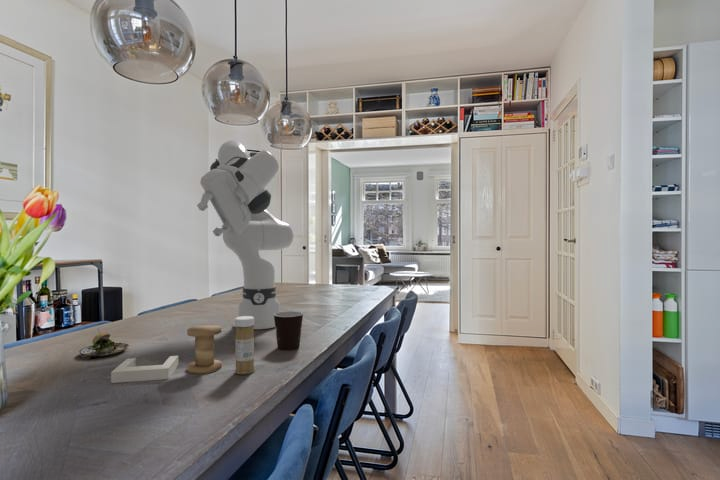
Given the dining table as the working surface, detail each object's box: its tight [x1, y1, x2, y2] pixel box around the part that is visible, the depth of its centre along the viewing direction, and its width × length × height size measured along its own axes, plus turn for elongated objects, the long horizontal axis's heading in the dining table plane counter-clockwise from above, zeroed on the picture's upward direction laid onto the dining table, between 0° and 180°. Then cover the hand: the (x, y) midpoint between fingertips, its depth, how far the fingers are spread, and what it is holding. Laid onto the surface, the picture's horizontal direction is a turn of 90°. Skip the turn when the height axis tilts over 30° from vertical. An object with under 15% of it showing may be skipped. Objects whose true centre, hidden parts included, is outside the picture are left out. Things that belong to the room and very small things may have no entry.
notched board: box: [110, 355, 179, 384], centre depth 95 cm, size 10×12×2 cm
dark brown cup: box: [274, 310, 304, 351], centre depth 120 cm, size 12×9×10 cm
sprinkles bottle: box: [234, 316, 255, 376], centre depth 97 cm, size 5×5×14 cm
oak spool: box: [186, 324, 223, 375], centre depth 99 cm, size 8×8×10 cm
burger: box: [78, 329, 130, 361], centre depth 112 cm, size 12×12×8 cm
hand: (208, 221), depth 106 cm, fingers open, 8 cm apart
